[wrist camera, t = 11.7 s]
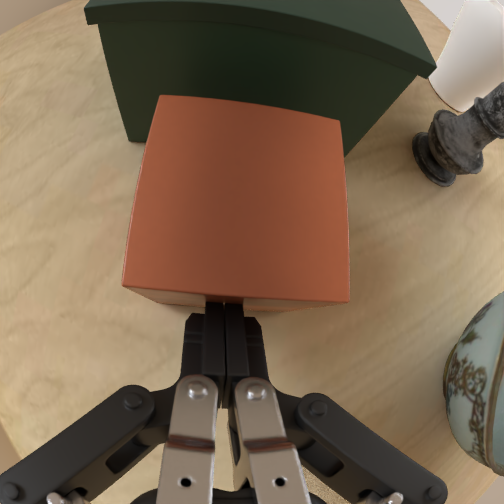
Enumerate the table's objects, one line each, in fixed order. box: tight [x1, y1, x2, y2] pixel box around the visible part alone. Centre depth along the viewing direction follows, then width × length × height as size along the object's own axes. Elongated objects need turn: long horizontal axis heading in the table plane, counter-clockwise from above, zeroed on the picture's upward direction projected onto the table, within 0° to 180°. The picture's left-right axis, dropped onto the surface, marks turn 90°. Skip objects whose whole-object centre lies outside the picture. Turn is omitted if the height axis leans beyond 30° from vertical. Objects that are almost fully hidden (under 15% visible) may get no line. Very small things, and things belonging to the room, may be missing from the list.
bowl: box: [443, 292, 504, 476], centre depth 14 cm, size 14×13×8 cm
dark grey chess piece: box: [413, 82, 504, 187], centre depth 16 cm, size 6×6×12 cm
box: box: [84, 0, 437, 157], centre depth 15 cm, size 15×15×11 cm
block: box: [121, 95, 350, 312], centre depth 13 cm, size 7×7×8 cm
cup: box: [429, 0, 504, 112], centre depth 19 cm, size 10×10×14 cm
